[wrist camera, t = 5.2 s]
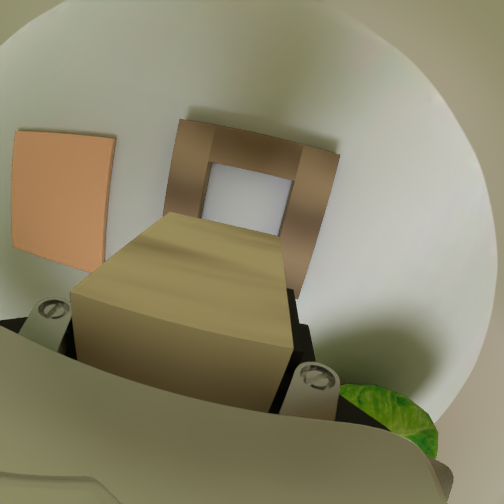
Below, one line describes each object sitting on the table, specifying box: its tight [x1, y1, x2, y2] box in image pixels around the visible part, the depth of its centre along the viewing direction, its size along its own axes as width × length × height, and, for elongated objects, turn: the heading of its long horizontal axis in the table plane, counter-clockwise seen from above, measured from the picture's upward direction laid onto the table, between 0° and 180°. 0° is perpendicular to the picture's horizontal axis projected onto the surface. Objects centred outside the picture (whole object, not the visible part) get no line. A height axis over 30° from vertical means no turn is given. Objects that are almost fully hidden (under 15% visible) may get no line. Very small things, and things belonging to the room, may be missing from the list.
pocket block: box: [163, 119, 340, 299], centre depth 26 cm, size 13×13×2 cm
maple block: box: [70, 212, 294, 413], centre depth 11 cm, size 5×5×8 cm
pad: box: [11, 131, 116, 273], centre depth 27 cm, size 14×14×1 cm
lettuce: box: [339, 384, 438, 459], centre depth 27 cm, size 19×25×17 cm
